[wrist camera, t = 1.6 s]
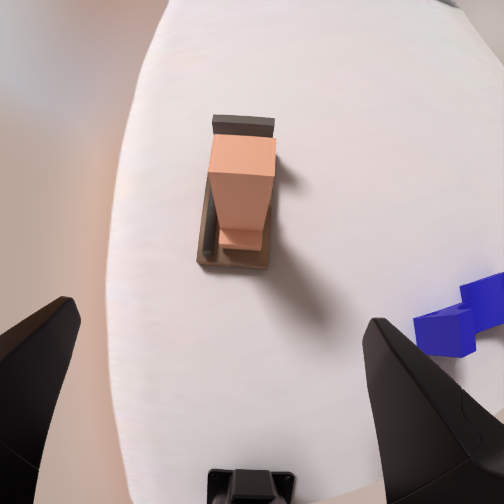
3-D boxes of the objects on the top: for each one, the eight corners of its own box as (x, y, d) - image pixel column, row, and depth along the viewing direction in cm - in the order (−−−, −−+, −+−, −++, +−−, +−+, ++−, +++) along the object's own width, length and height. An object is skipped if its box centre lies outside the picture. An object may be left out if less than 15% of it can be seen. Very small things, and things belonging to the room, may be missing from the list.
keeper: (260, 251, 21) (273, 197, 12) (220, 247, 21) (205, 193, 12) (263, 198, 22) (276, 121, 13) (225, 195, 22) (217, 117, 13)
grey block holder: (266, 269, 22) (273, 255, 17) (198, 263, 22) (187, 248, 17) (273, 151, 24) (278, 118, 20) (213, 147, 24) (209, 114, 20)
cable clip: (494, 274, 23) (535, 262, 17) (501, 317, 22) (542, 311, 16) (409, 300, 22) (453, 291, 16) (416, 353, 21) (462, 357, 15)
